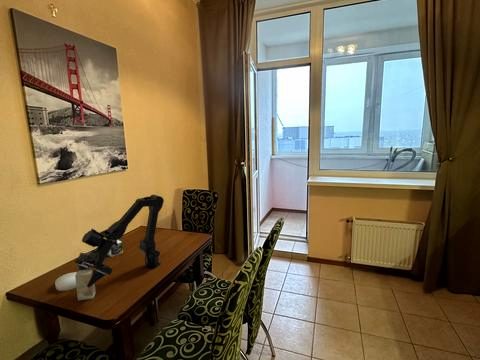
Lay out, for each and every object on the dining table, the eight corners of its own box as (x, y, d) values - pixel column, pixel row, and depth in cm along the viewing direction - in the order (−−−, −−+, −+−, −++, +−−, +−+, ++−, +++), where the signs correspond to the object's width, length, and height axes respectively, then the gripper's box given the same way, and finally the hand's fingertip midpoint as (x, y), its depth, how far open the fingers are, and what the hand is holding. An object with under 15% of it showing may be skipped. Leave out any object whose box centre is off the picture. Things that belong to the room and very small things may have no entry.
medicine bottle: (111, 257, 151) (109, 238, 149) (105, 253, 156) (103, 235, 153) (123, 252, 157) (121, 234, 155) (117, 249, 161) (115, 231, 159)
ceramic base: (88, 280, 128) (87, 274, 127) (66, 293, 118) (65, 287, 117) (72, 275, 132) (72, 270, 131) (50, 288, 122) (49, 282, 121)
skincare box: (77, 301, 112) (73, 275, 110) (80, 295, 116) (77, 270, 114) (94, 298, 114) (90, 273, 111) (96, 292, 118) (93, 268, 115)
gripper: (76, 241, 118) (53, 275, 110) (103, 248, 110) (81, 285, 102) (94, 249, 126) (74, 281, 119) (120, 257, 119) (101, 292, 111)
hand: (82, 285), depth 112 cm, fingers closed on skincare box, 7 cm apart
